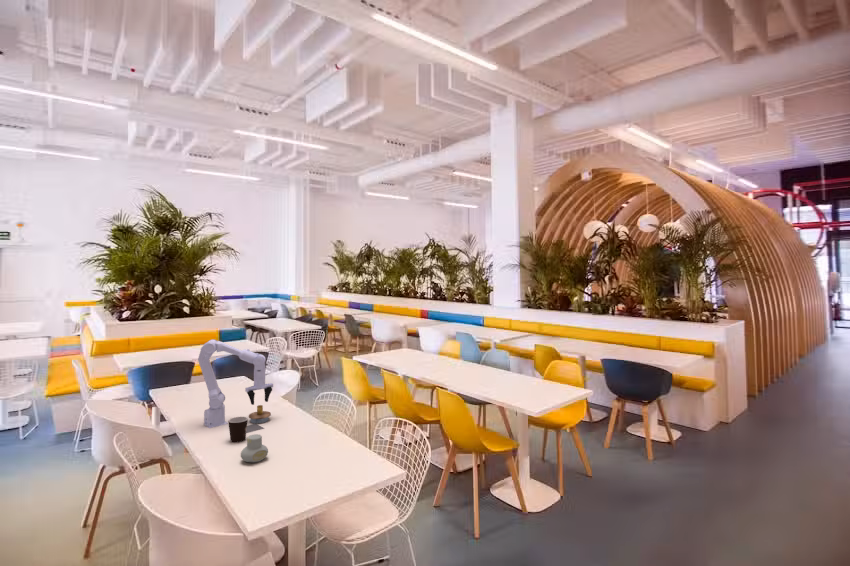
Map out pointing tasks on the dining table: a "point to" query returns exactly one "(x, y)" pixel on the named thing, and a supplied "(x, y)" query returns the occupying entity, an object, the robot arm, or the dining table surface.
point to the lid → (259, 413)
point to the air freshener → (254, 449)
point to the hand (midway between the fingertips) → (259, 402)
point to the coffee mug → (238, 428)
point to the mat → (253, 428)
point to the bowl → (259, 420)
